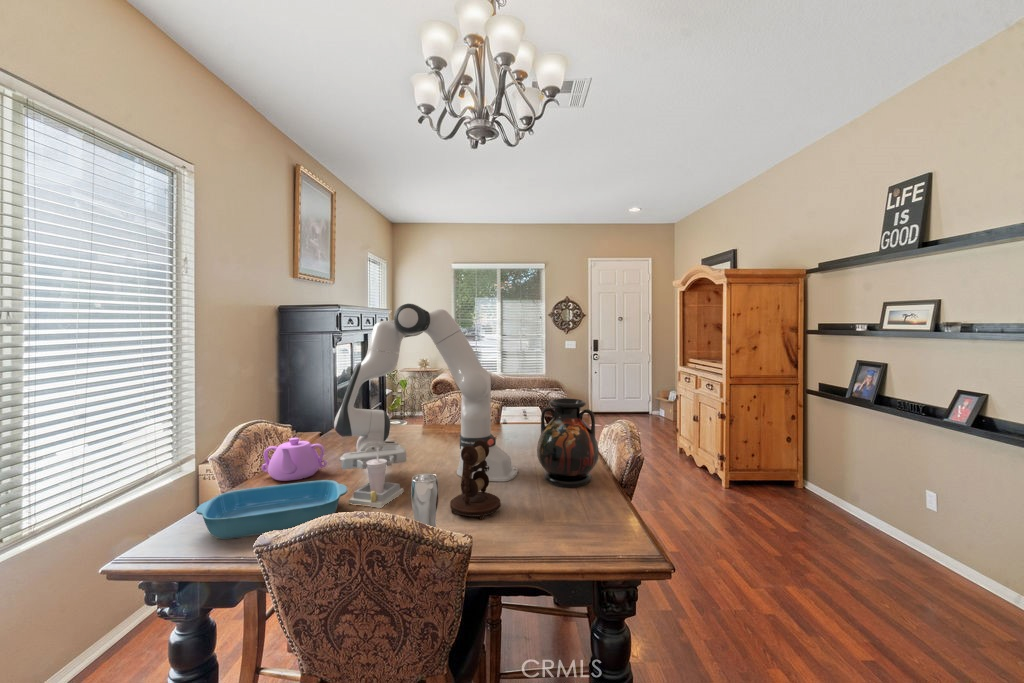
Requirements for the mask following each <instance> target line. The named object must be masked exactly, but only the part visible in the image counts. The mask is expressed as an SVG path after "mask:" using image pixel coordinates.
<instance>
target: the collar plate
mask: <svg viewBox="0 0 1024 683" xmlns="http://www.w3.org/2000/svg"><path fill="white" fill-rule="evenodd" d="M400 486H401V484H400V483H397V482H396V483H395V482H389V481H388V482H386V481H384V488H383V492H382V493H376V491H371V490H370V483H369V482H368V483H366V484H365V485H363V486H360V487H359V488H357V489H356V490H354V491H353V496H352V497H351V498H350V499H349V500H348V503H352V504H361V505H370V506H373V507H377V508H376V509H380V508H381V509H383V508H382V506H383V505H385V504H387V503H388V504H390V503H391V502H392V500H393V499H394V500H396V499H397V498H398V497H400V496H401V495H403V494H404V493H403V492H404V488H402V487H400ZM402 493H403V494H402ZM400 494H401V495H400ZM399 495H400V496H399ZM396 497H397V498H396ZM395 498H396V499H395ZM394 500H393V501H394ZM390 501H391V502H390ZM389 502H390V503H389ZM388 504H387V505H388ZM385 506H386V505H385Z"/></svg>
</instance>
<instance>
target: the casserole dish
mask: <svg viewBox="0 0 1024 683" xmlns="http://www.w3.org/2000/svg"><path fill="white" fill-rule="evenodd" d="M347 493H348V486H346V485H345V484H343V483H338V482H337V481H336V480H332V479H331V480H330V479H329V480H328V479H321V480H311V481H310V480H309V481H303V482H302V481H301V482H293V483H286V484H285V483H283V484H276V485H269V486H268V485H267V486H259V487H258V486H257V487H252V488H244V489H238V490H231V491H227V492H224V493H221V494H218V495H217V496H215V497H213V498H211V499H209V500H208V501H205V502H203V503H201V504H199V505H198V507H197V508H196V510H195V512H196V514H198V515H201V516H202V518H203V521H204V524H205V526H206V528H207V531H208V532H209V534H210V535H212V536H213V537H214V538H217V539H220V540H230V539H233V540H234V539H238V538H246V537H255V536H260V534H261V535H263V534H262V533H265V532H269V531H273V530H283V529H288V528H292V527H295V526H297V525H300V524H302V523H305V522H307V521H310V520H313V519H315V518H318V517H321V516H323V515H328V514H332V513H336V511H337V508H338V505H339V501H340V498H341V497H343V496H344V495H346V494H347Z"/></svg>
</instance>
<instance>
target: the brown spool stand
mask: <svg viewBox="0 0 1024 683" xmlns="http://www.w3.org/2000/svg"><path fill="white" fill-rule="evenodd" d="M460 451H461V450H460ZM488 454H489V447H488V445H487V443H486V442H485V441H483V440H478V441H476V442H475V443H474V444H473V446H470V445H467V446H465V447H463V449H462V451H461V458H462V460H463V472H462V477H461V479H460V480H461V482H460V489H461V494H458V495H456V496H455V497H453V498H452V499H451V500H450V502H449V509H450V511H451V514H453V515H454V514H457V515H460V516H465V517H466V516H467V517H479V518H480V520H481V521H483V519H484V518H485V516H487V515H490V514H493V513H495V512H497V511H499V509H501V505H502V504H501V501H502V500H501V499H500V498H499V497H498V496H497V495H495V494H493V493H490V492H487V491H486V490H487V488H488V487H489V485H490V481H489V478H488V476H487V474H486V472H485V468H486V466H487V462H486V461H485V459H486V457H487V456H488ZM478 463H479V464H478ZM476 464H478V465H476ZM475 465H476V466H475ZM479 468H481V469H482V470H481V471H477V470H478V469H479ZM475 471H477V472H475ZM473 472H475V473H474V475H473V479H472V473H473Z"/></svg>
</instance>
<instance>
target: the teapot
mask: <svg viewBox="0 0 1024 683" xmlns="http://www.w3.org/2000/svg"><path fill="white" fill-rule="evenodd" d="M315 447H316V448H319V449H320V455H319V454H318V451H317V450H316V449H315ZM271 450H274V452H273V453H272V455H271V457H270V458H269V456H268V452H269V451H271ZM324 455H325V447H324V445H322V444H321V443H313V444H312V443H311V442H310V441H308V440H300V437H290V438H289V439H288V441H286V442H283V443H281V444H279V445H278V446H275V445H272V446H268V447H267V448H265V450H264V451H263V459H264V462H265V463H263V464H262V465H261V469H260V470H261V471H262V472H264V473H265V472H266V473H268V474H269V476H270V477H271V478H272V479H273V480H276V481H284V482H288V481H296V480H304V479H306V478H310V477H312V476H314V475H315V474H316V473H317V472H318V470H319V469H323V468H325V467H327V465H328V462H327V459H323V458H324ZM322 463H323V464H322ZM303 478H304V479H303Z"/></svg>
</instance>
